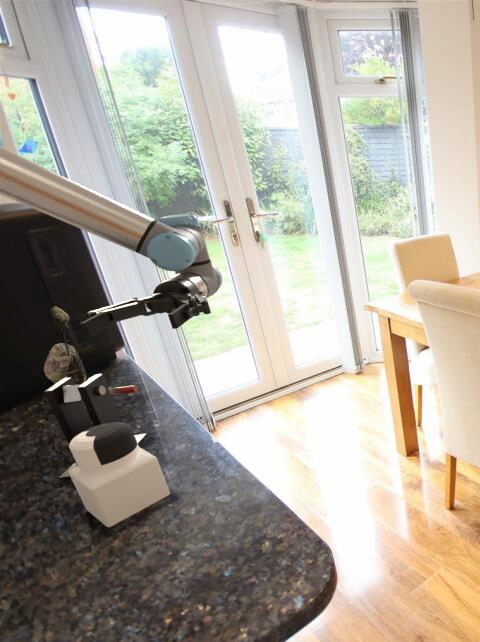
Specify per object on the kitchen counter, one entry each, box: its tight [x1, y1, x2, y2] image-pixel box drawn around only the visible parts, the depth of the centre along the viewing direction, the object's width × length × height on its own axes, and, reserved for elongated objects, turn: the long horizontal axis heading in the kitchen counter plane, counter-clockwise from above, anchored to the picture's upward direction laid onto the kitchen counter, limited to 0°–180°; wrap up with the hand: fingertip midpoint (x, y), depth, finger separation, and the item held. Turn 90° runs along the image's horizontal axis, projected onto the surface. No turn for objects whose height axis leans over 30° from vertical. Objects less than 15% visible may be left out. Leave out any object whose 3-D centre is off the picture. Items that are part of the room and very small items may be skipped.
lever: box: [63, 384, 139, 403], centre depth 71 cm, size 11×5×2 cm, turn 13°
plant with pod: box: [43, 306, 88, 409], centre depth 86 cm, size 8×11×20 cm
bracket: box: [43, 373, 148, 480], centre depth 69 cm, size 10×7×14 cm
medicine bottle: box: [68, 421, 171, 528], centre depth 60 cm, size 7×7×12 cm
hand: (129, 326), depth 81 cm, fingers open, 13 cm apart
